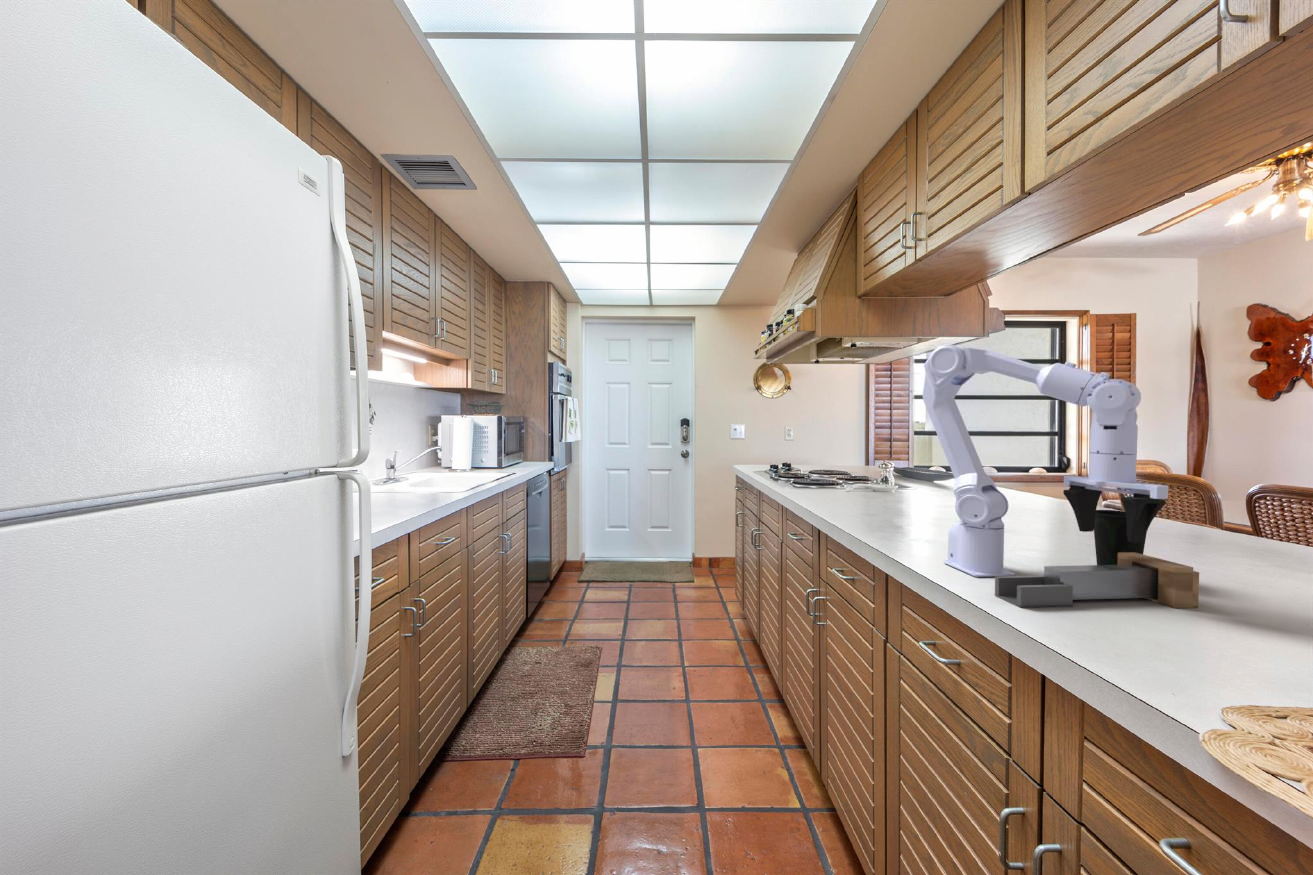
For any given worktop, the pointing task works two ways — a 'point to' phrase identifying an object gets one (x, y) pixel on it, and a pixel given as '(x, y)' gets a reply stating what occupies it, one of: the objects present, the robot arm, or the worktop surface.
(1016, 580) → the grey u-shaped channel
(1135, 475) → the robot arm
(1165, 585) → the socket
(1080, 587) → the bar
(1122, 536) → the cup
